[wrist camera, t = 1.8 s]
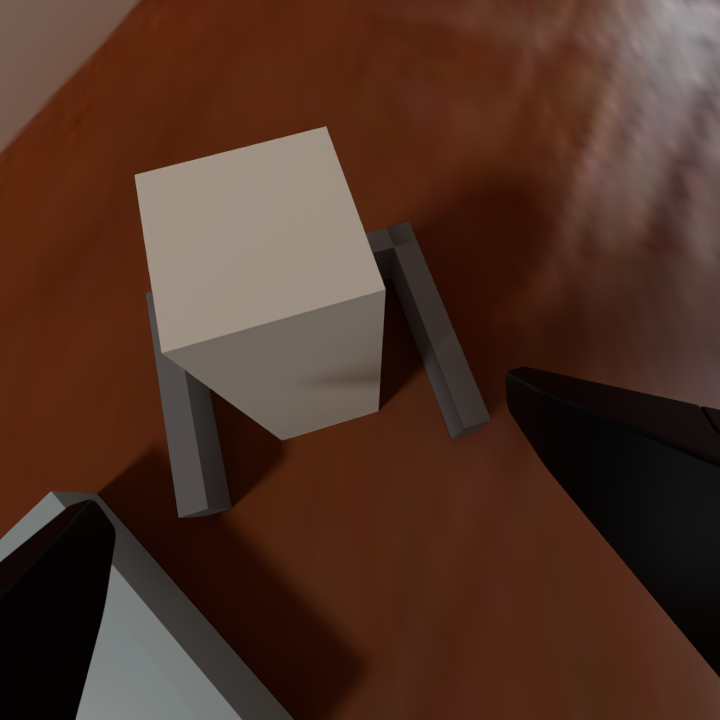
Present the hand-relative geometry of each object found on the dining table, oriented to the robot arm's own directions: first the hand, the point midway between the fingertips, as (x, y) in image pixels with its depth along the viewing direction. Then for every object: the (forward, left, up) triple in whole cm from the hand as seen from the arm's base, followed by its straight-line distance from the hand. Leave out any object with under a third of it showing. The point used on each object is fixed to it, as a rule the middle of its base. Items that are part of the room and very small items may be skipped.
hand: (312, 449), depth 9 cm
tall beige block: (+5, -3, -12) cm, 13 cm away
